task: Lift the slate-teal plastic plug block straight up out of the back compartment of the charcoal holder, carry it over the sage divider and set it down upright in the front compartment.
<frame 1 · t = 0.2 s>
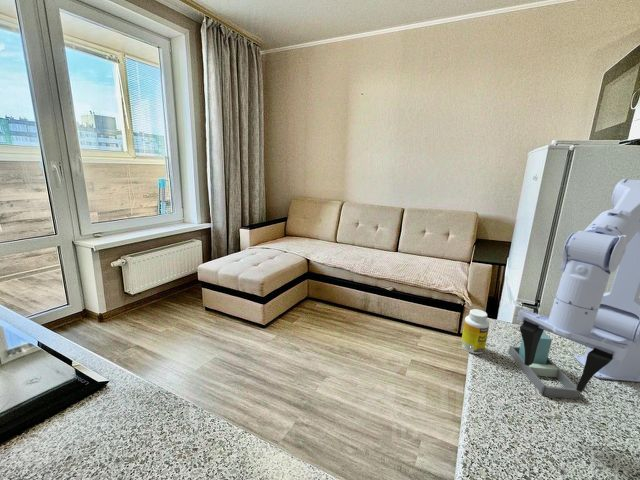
hand: (552, 376, 53), 11 cm above the countertop, tool pointing down, fingers open, 7 cm apart
plug: (530, 363, 73), resting in caddy
supplement bottle: (472, 349, 79), on the countertop
caddy: (539, 373, 70), on the countertop
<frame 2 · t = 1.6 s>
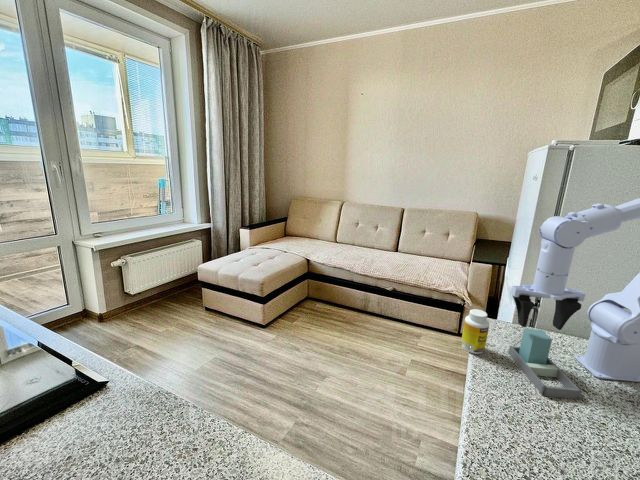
hand: (539, 326, 71), 10 cm above the countertop, tool pointing down, fingers open, 7 cm apart
nothing on the countertop moved.
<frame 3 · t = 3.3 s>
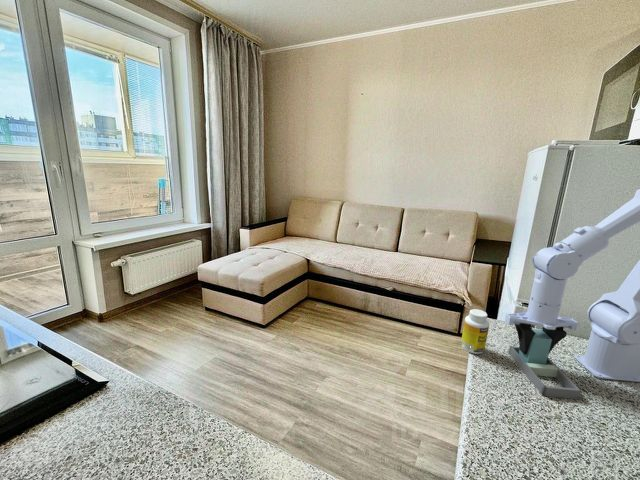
hand: (533, 352, 73), 3 cm above the countertop, tool pointing down, fingers closed on plug, 4 cm apart
plug: (530, 363, 73), resting in caddy, touching gripper
everything else where it was.
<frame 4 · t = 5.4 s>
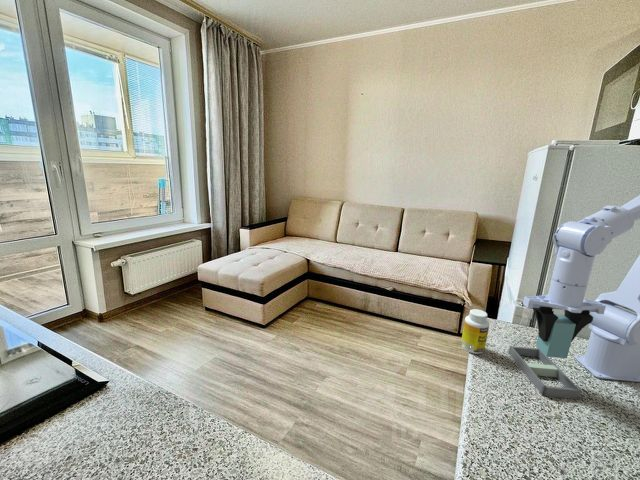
hand: (554, 340, 65), 10 cm above the countertop, tool pointing down, fingers closed on plug, 4 cm apart
plug: (550, 351, 66), point 7 cm above the countertop, touching gripper
everything else where it was.
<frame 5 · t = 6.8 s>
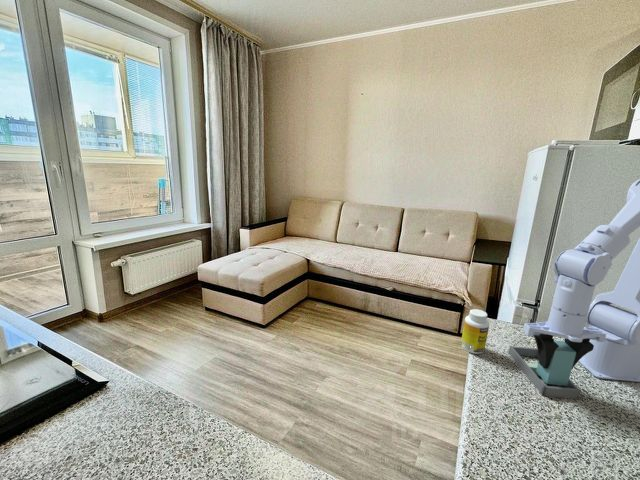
hand: (554, 366, 65), 5 cm above the countertop, tool pointing down, fingers closed on plug, 4 cm apart
plug: (551, 378, 66), point 2 cm above the countertop, touching gripper
everything else where it was.
when the fingers open (4 cm above the countertop, at t = 7.9 s): plug stays where it is, resting in caddy.
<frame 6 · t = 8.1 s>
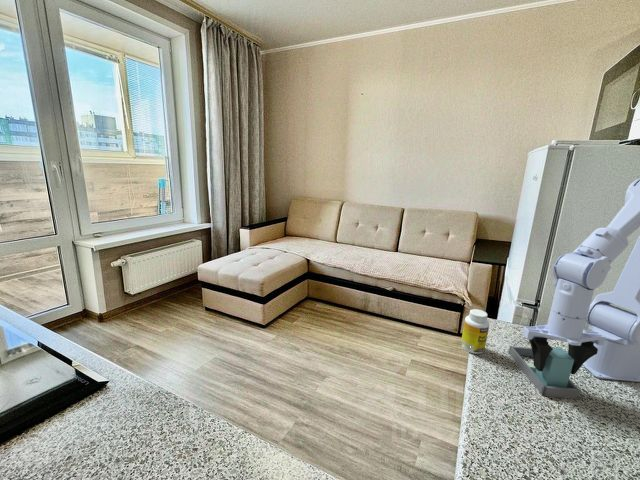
hand: (553, 369, 65), 4 cm above the countertop, tool pointing down, fingers open, 6 cm apart
plug: (549, 384, 66), resting in caddy
everything else where it was.
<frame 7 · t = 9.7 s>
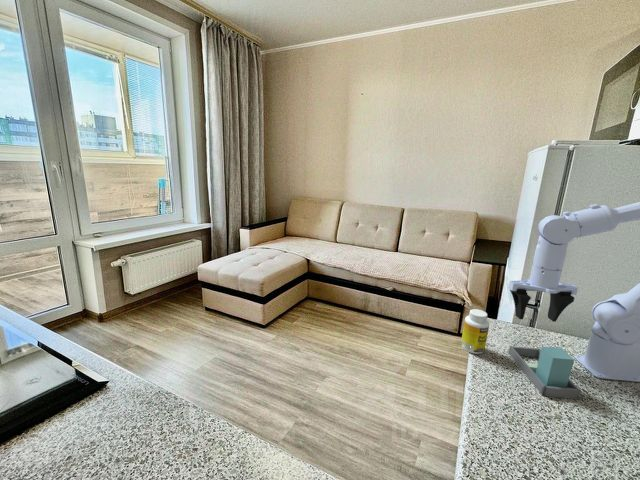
hand: (535, 318, 75), 9 cm above the countertop, tool pointing down, fingers open, 7 cm apart
nothing on the countertop moved.
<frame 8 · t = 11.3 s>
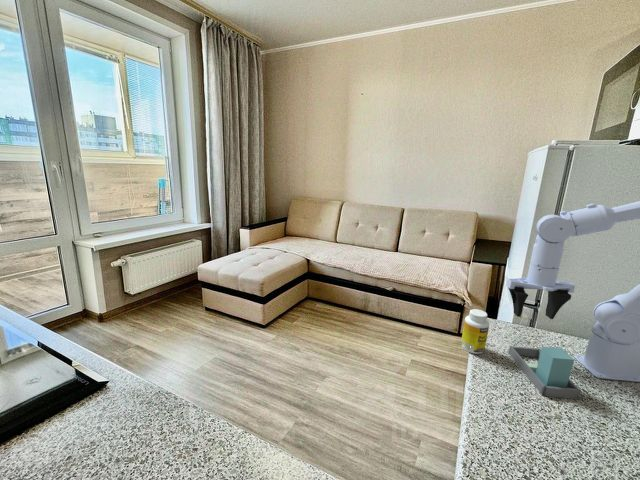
hand: (533, 315, 77), 9 cm above the countertop, tool pointing down, fingers open, 7 cm apart
nothing on the countertop moved.
at the end: plug 0.1 cm from the target spot on the caddy, point 0.0 cm above the caddy's base; plug tilted 0°; the gripper is holding nothing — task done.
